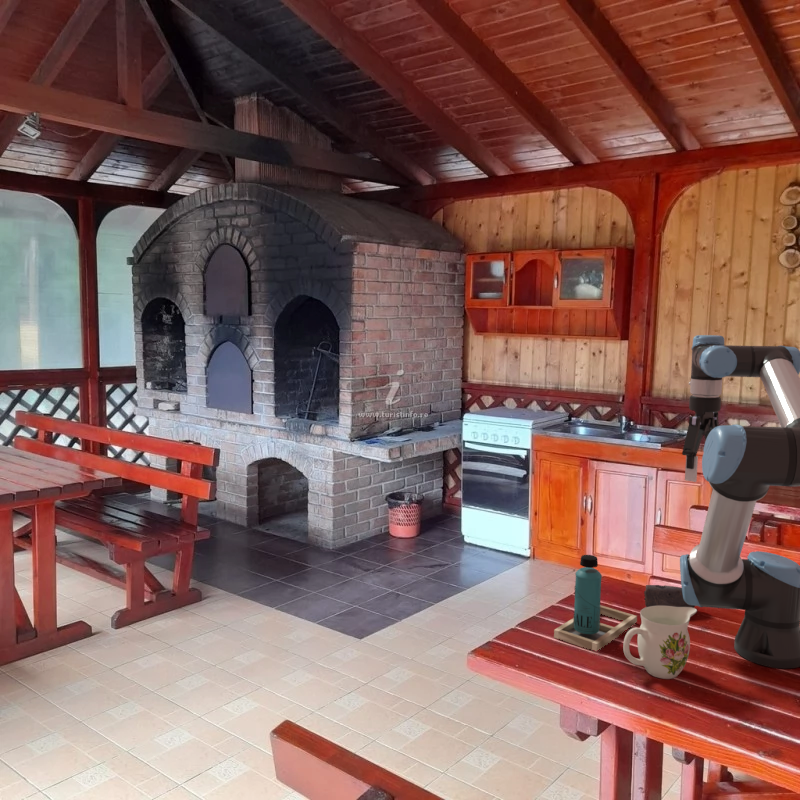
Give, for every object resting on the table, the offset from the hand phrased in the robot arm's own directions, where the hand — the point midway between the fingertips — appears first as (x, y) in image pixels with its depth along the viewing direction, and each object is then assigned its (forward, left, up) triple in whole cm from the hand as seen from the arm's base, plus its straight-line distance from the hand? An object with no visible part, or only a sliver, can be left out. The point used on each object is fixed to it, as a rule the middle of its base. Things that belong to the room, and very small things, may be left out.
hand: (700, 476), depth 195 cm
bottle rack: (-9, +30, -37) cm, 48 cm away
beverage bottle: (-12, +34, -36) cm, 51 cm away
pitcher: (-31, +24, -37) cm, 54 cm away
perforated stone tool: (+1, +6, -37) cm, 38 cm away
